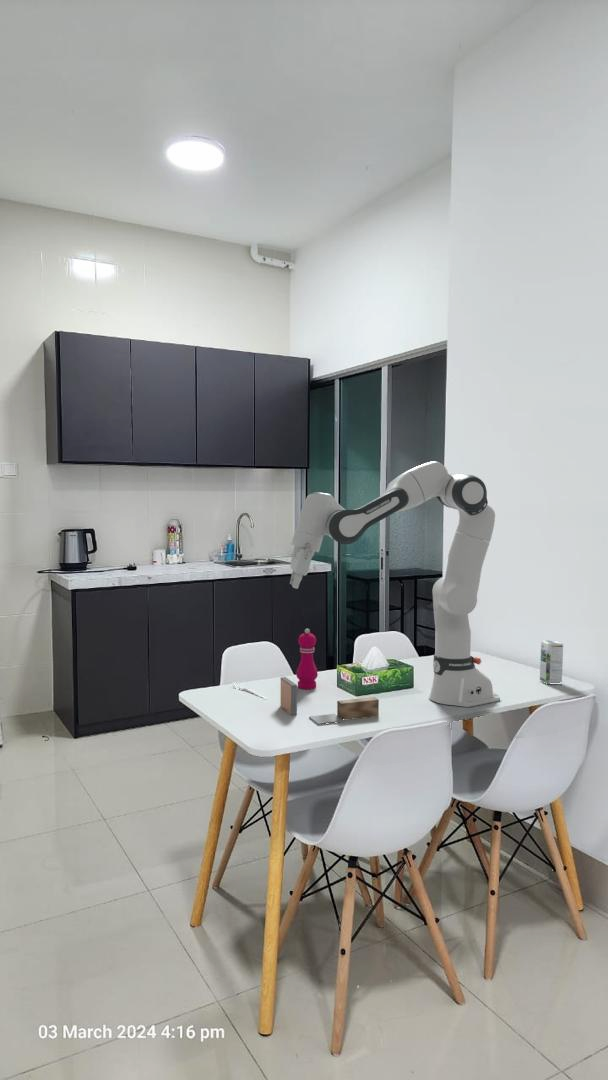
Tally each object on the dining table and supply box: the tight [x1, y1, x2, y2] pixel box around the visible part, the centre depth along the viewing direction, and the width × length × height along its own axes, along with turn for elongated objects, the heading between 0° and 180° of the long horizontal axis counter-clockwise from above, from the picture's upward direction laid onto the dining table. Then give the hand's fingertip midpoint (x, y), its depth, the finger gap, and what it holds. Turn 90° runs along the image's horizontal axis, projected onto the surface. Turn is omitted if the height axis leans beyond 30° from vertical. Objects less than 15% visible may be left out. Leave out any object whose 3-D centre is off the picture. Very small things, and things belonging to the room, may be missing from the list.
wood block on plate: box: [308, 696, 380, 726], centre depth 214 cm, size 20×7×5 cm, turn 111°
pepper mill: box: [296, 628, 319, 690], centre depth 248 cm, size 7×7×20 cm
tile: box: [280, 676, 298, 716], centre depth 221 cm, size 2×10×9 cm, turn 21°
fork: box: [231, 681, 268, 700], centre depth 241 cm, size 3×20×2 cm, turn 36°
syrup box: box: [539, 639, 564, 684], centre depth 255 cm, size 6×6×14 cm
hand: (293, 586), depth 224 cm, fingers open, 8 cm apart
